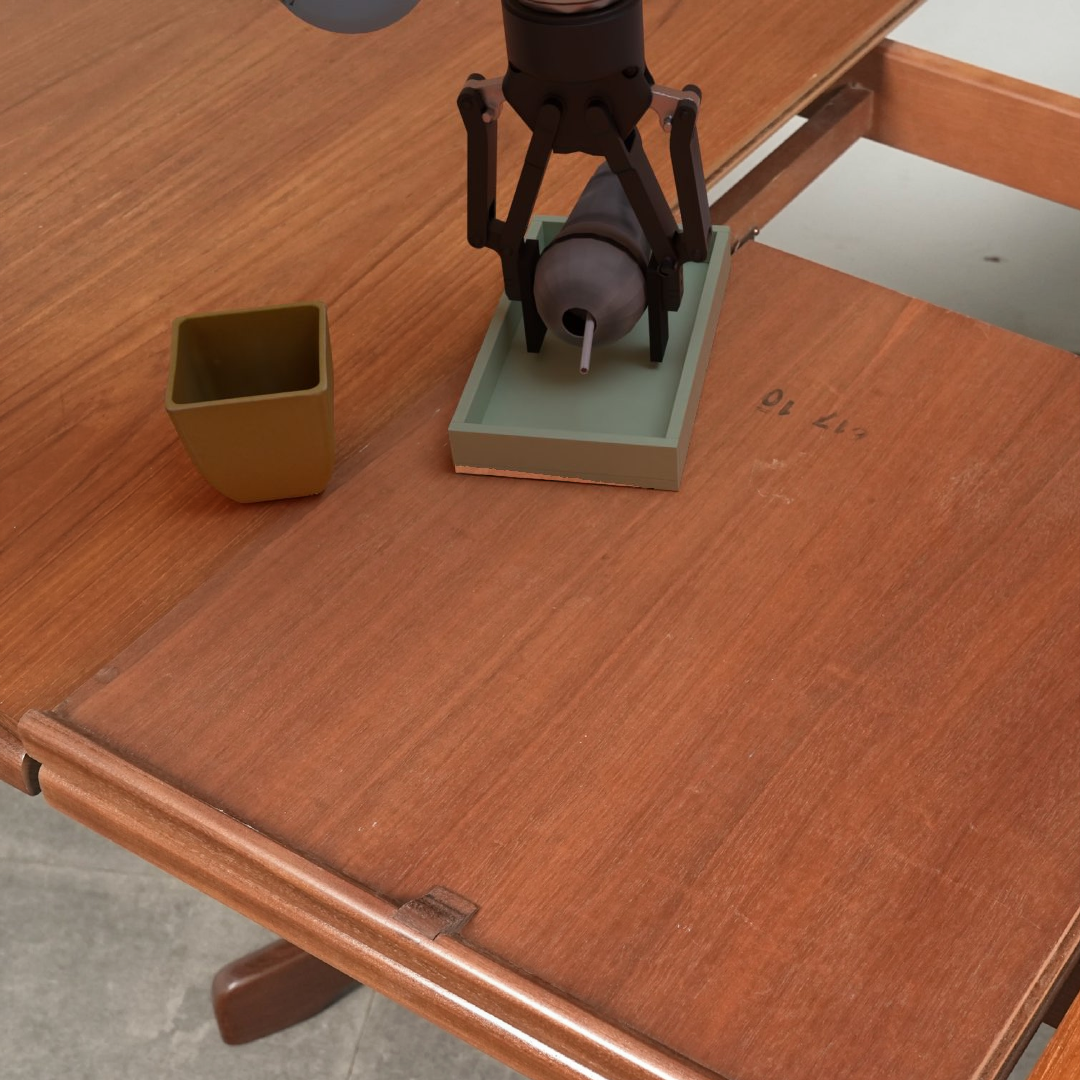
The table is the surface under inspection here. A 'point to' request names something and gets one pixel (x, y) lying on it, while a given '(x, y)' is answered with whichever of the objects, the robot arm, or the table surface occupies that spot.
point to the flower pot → (255, 399)
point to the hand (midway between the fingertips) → (598, 344)
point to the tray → (592, 389)
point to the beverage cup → (594, 269)
